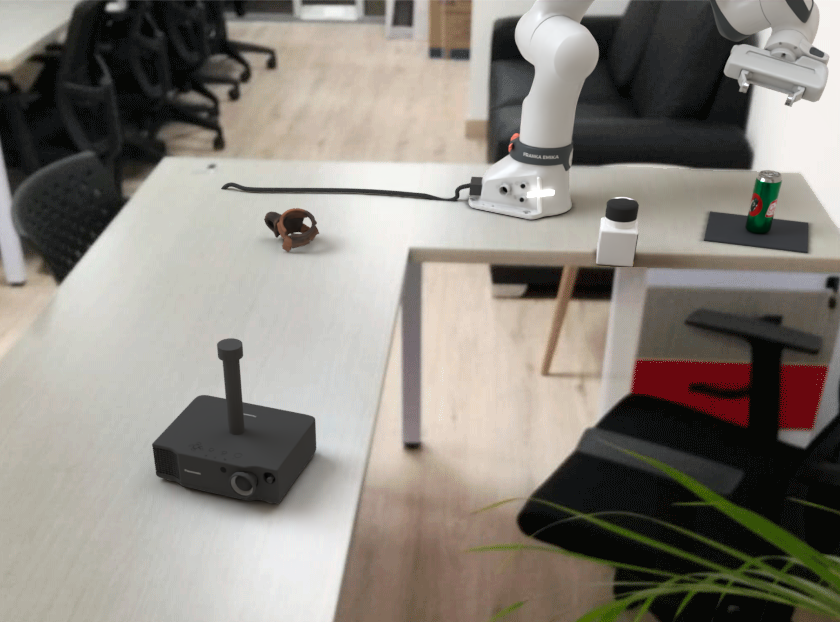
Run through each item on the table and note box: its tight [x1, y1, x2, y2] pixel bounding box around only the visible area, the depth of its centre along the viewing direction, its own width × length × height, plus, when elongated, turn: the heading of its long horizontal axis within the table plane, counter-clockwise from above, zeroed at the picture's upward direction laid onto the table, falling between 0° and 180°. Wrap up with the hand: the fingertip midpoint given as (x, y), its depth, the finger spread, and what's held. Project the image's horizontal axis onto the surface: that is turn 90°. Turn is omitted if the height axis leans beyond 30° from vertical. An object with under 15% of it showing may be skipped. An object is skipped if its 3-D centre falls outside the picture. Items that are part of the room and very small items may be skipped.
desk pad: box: [703, 211, 809, 254], centre depth 224 cm, size 20×16×1 cm
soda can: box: [745, 169, 783, 234], centre depth 220 cm, size 5×5×12 cm
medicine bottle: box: [595, 196, 640, 268], centre depth 210 cm, size 7×7×12 cm
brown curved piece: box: [263, 207, 320, 253], centre depth 220 cm, size 12×10×8 cm
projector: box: [151, 337, 317, 505], centre depth 150 cm, size 19×17×20 cm
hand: (766, 96), depth 219 cm, fingers open, 8 cm apart
